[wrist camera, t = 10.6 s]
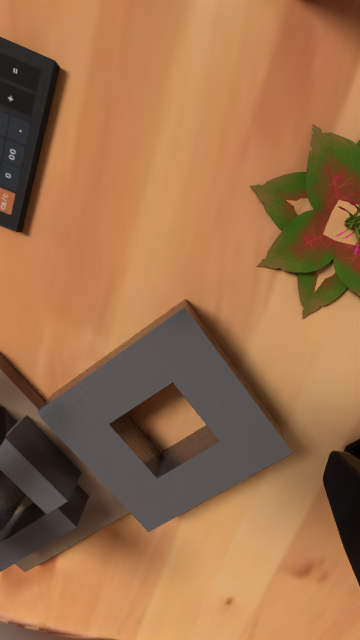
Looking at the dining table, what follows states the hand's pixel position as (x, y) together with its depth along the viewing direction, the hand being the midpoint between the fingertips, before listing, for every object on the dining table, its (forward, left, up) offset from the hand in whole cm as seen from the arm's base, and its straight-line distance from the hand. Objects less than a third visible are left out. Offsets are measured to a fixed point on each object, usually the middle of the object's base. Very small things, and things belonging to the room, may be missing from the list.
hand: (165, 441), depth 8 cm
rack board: (-2, +18, -12) cm, 21 cm away
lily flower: (-1, -12, -13) cm, 17 cm away
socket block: (-5, +5, -12) cm, 14 cm away
